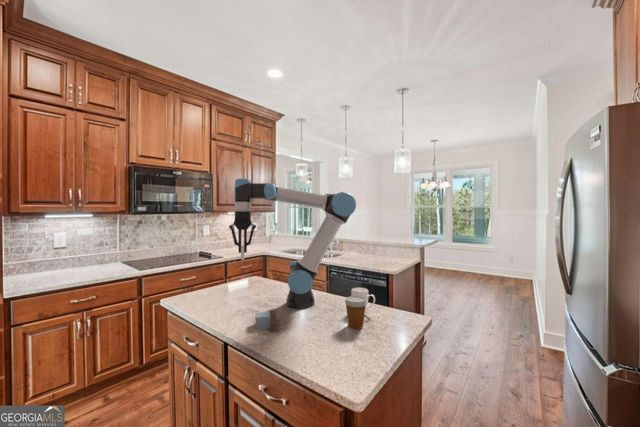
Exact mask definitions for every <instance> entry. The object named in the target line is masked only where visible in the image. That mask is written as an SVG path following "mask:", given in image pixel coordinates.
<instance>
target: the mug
mask: <svg viewBox="0 0 640 427" xmlns="http://www.w3.org/2000/svg"><path fill="white" fill-rule="evenodd" d="M350 294H351V295H350V296H360V297H363V298H365V299H366V302H367V304H366V306H365V311H366V310H368V309H369V308H371V307H372V306H374V305H375V302H376V297H375V295H374V294H369V289H368V288H366V287H353V288H351V293H350ZM369 297H372V298H373V302H372V304H370V305H369V306H368V302H369ZM367 306H368V307H367Z"/></svg>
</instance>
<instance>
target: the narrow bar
mask: <svg viewBox="0 0 640 427" xmlns="http://www.w3.org/2000/svg"><path fill="white" fill-rule="evenodd" d="M268 312H270V328H269V329H270V333H278V332H279V320H278V315H277V311H276V309H272V310H268Z"/></svg>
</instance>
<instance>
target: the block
mask: <svg viewBox="0 0 640 427" xmlns="http://www.w3.org/2000/svg"><path fill="white" fill-rule="evenodd" d="M261 328H262V329H263V328H264V329H270V312H269V311H261V312H260V311H259V312H255V330H262V329H261Z"/></svg>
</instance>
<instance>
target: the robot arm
mask: <svg viewBox="0 0 640 427" xmlns="http://www.w3.org/2000/svg"><path fill="white" fill-rule="evenodd" d="M234 181H235V182H234V210H235V211H234V221H233V223H232V224H230V225H229V226H228V228H229V229H230V231H231V234H232V238H233V242H234V245H235V246H237V248H238V253H240V260H241V261H244V260H245V253H247V252H248V246H249V245H251V243H252V239H253V235H254V232H255V231H254V230H255V229H256V228H257V225H256V224H254V223H253V222H252V216H251V214H252V212H251V208H252V205H251V204H252V200H254V199H256V200H257V199H258V200H266V201H272V202H278V203H284V204H285V203H286V204H291V205H297V206H302V207H310V208H314V209H315V208H316V209H321V210H322V211H323V212H324V213H325V217H324V219H323V221H322V223H321V225H320V226H319V229H318V230H317V232H316V233H315V235H314V237H313V239H312V240H311V242H310V244H309V245H308V248H307V250H306V251H305V252H304V255H303V257H302V258H301V259H298V260H293V261H291V262H289V274H288V278H287V284H288V288H289V291H288V294H287V297H286V303H285V304H286V306H287V307H289V308H293V309H308V308H311V307H313V306H314V305H315V304H316V303H315V297H314V293H313V290H312V287H313V283H314V280H315V279H316V277H317V275H318V273H319V270H318V266H319V265H320V263H321V261H322V260H323V258H324V257H325V255H326V252H327V251H328V249H330V248H329V247H330V245H331V244H332V242H333V241H334V238H335V237H336V235H337V233H338V231H339V230H340V228H341V226H342V225H346V223H348V220H349V218H350V217H351V216H352V215H353V213H355V211H356V207H357V201H356V199H355V197H354V196H353V195H352V194H351V193H349V192H347V191H340V192H337V193H325V194H321V193H315V192H314V193H313V192H308V191H303V190H295V189H291V188H284V187H279V186H276V184H275V183H271V182H267V183H262V182H261V183H258V182H257V183H256V182H252V180H251V179H250V178H236V179H235V180H234ZM235 227H236V229H237V230H238V239H237V235H236V232H235ZM249 228H251V230H250V233H249V238H248V236H247V234H248V229H249ZM242 231H243V245H242Z"/></svg>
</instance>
